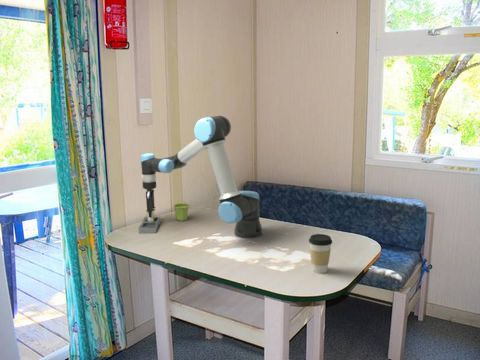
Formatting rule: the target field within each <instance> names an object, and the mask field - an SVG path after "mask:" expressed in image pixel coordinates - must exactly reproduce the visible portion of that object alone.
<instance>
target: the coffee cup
mask: <svg viewBox="0 0 480 360" xmlns="http://www.w3.org/2000/svg"><path fill="white" fill-rule="evenodd" d="M308 243H309V251H310V252H309V253H310V262H311V269H312V272H313V273H316V274H326V273H327V272H328V266H329V264H330V263H329V261H330V256H331V247H332V244H333V240H332V237H331V236H330V235H328V234H324V233H315V234H311V235H310V237H309V239H308Z"/></svg>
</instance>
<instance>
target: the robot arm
mask: <svg viewBox="0 0 480 360" xmlns="http://www.w3.org/2000/svg"><path fill="white" fill-rule="evenodd" d="M193 130H194V136H195V139H194V140H193V141H191V142H190V143H188V144H187V145H186V146H184V147H183V148H182V149H181V150H179V151H178V152H177V153H175V154H174V155H172V156H168V157H163V158H158V157H156V156H155V154H154V153H149V152H148V153H142V154H141V156H140V157H141V158H140V163H141V176H140V177H141V178H142V183H141V184H142V188H143V189H144V190H146V191H145V199H146V210H147V211H145V213H146V212H148V221H153V211H152V209H156V206H155V189H156V188H157V181H156V180H157V174H156V173H163V174H171V173H172V172H173V171H174V170H178V169H183V168H184V167H186V166H187V163H189V162H190V161H192V159H194V158H195V157H197V156H198V155H199V154H200V153H202V152H204V151H205V150H207V154H208V157H209V160H210V163H211V166H212V169H213V172H214V176H215V180H216V183H217V186H218V190H219V193H220V197H219V199H218V200H219V203H220V204H219V207H218V209H217V211H218V215H219V217H220V219H221V220H222V221H223V222H225V223H226V224H230V225H231V224H235V225H234V226H235V227H234V230H233V231H234V232H233V233H234V235H235V236H236V237H240V238H245V239H253V238H258V237H261V236H262V235H263V232H264V231H263V226H262V223H261V220H260V194H259V192H256V191H252V190H238V188H237V185H236V182H235V178H234V174H233V172H232V168H231V165H230V161H229V159H228V154H227V151H226V147H225V145H224V144H225V142H226V137H228V136H229V135H230V133H231V130H232V124H231V122H230V120H229V119H228V118H227V117H225V116H223V115H215V116H206V117H203V118H202V117H201V119H199V120H198V121H196V124H195V126H194V129H193Z"/></svg>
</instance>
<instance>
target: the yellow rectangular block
mask: <svg viewBox="0 0 480 360" xmlns="http://www.w3.org/2000/svg"><path fill="white" fill-rule="evenodd" d="M146 211H147V209H146ZM146 211H145V217H146V220H147V221H148V212H146ZM152 211H153V221H156V217H157V216H156V208H153V209H152Z"/></svg>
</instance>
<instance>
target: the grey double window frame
mask: <svg viewBox="0 0 480 360" xmlns="http://www.w3.org/2000/svg"><path fill="white" fill-rule="evenodd" d="M161 222H162V219H161V216H156V221H147V220H146V216H145V217H144V218H143V219H142V222H141V224H140V225H139V227H138V234H157V232H158V229H159V226H160V225H161Z"/></svg>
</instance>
